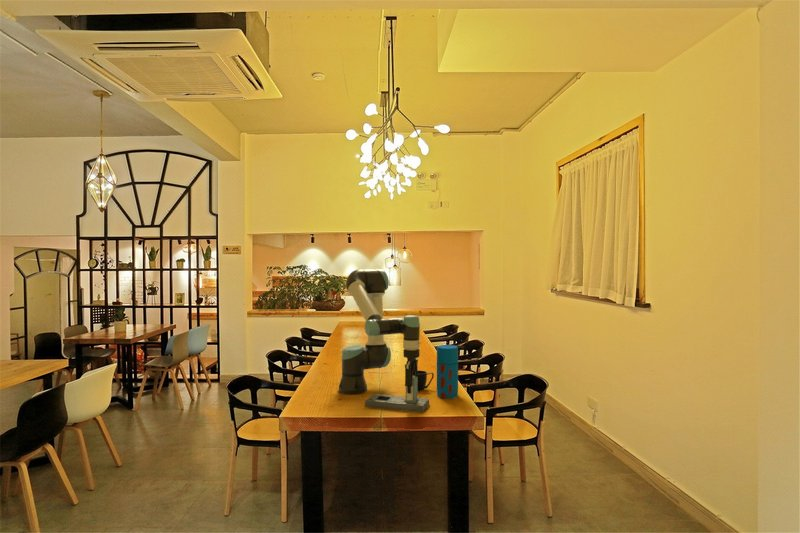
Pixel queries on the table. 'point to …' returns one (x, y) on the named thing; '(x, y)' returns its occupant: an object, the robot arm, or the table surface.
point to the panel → (396, 403)
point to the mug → (423, 380)
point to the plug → (414, 384)
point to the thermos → (447, 371)
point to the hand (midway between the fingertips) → (411, 398)
